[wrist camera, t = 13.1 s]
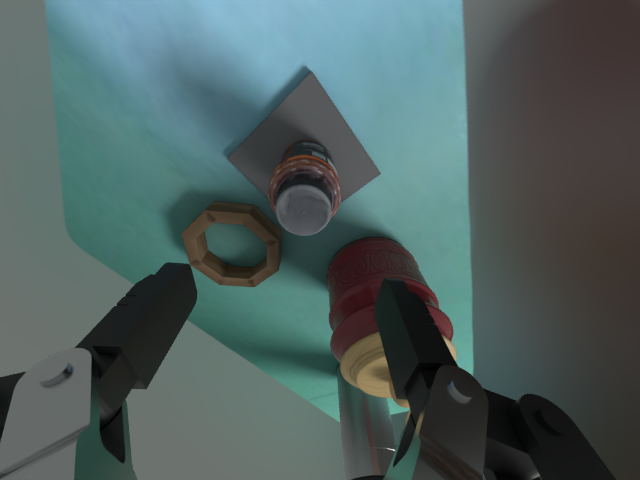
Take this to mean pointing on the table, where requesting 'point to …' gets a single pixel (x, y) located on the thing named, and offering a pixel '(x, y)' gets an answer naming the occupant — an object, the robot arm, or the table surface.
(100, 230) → the table surface
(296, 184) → the supplement bottle
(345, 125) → the coaster
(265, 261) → the collar
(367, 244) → the canister
